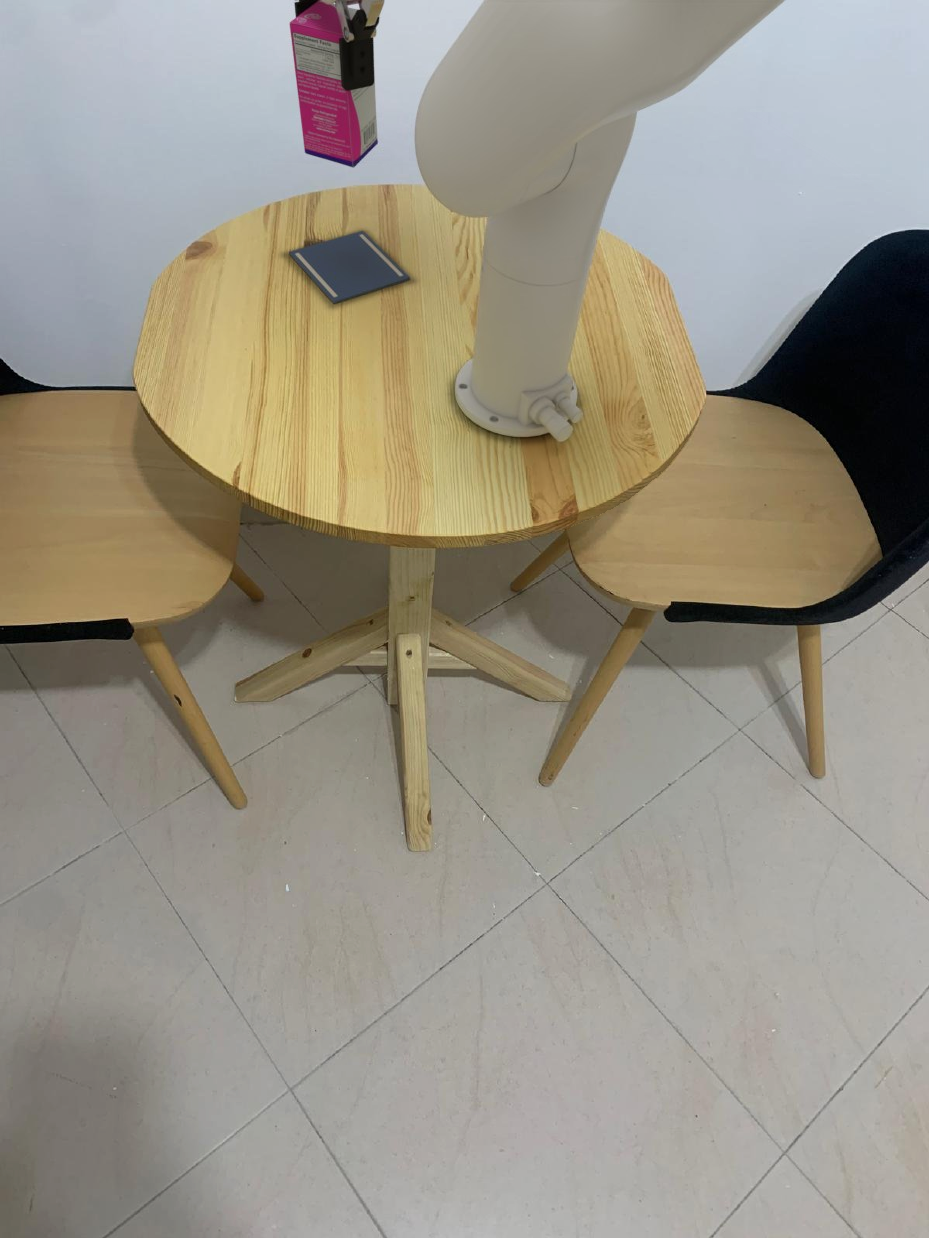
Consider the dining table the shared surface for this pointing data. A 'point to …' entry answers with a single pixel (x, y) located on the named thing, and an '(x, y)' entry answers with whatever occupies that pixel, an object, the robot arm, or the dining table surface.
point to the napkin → (348, 266)
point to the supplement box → (330, 91)
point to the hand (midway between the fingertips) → (336, 67)
